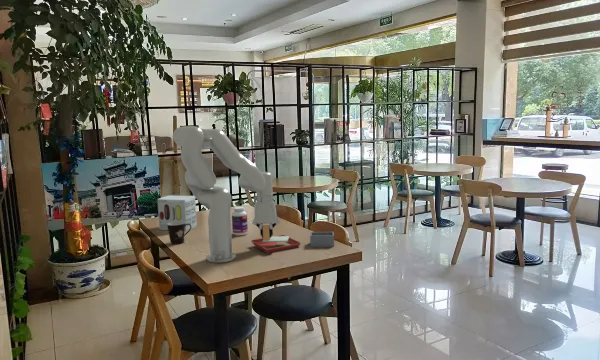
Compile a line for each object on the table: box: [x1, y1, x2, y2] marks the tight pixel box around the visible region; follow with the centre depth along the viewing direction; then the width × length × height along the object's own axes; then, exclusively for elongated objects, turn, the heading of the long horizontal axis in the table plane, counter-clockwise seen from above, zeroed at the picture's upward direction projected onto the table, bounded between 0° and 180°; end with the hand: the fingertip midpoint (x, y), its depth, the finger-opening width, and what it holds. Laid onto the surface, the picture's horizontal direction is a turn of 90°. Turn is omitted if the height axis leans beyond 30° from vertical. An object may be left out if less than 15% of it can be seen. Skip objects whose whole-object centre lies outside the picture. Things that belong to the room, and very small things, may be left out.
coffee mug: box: [167, 222, 192, 246], centre depth 226 cm, size 12×9×10 cm
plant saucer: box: [250, 234, 302, 255], centre depth 212 cm, size 18×18×3 cm
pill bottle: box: [231, 206, 249, 236], centre depth 239 cm, size 8×8×14 cm
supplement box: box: [157, 195, 198, 232], centre depth 257 cm, size 17×13×18 cm
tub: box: [309, 231, 335, 248], centre depth 212 cm, size 7×11×6 cm, turn 86°
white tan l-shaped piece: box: [263, 223, 290, 243], centre depth 212 cm, size 8×12×8 cm, turn 87°
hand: (266, 236), depth 212 cm, fingers closed on white tan l-shaped piece, 3 cm apart
